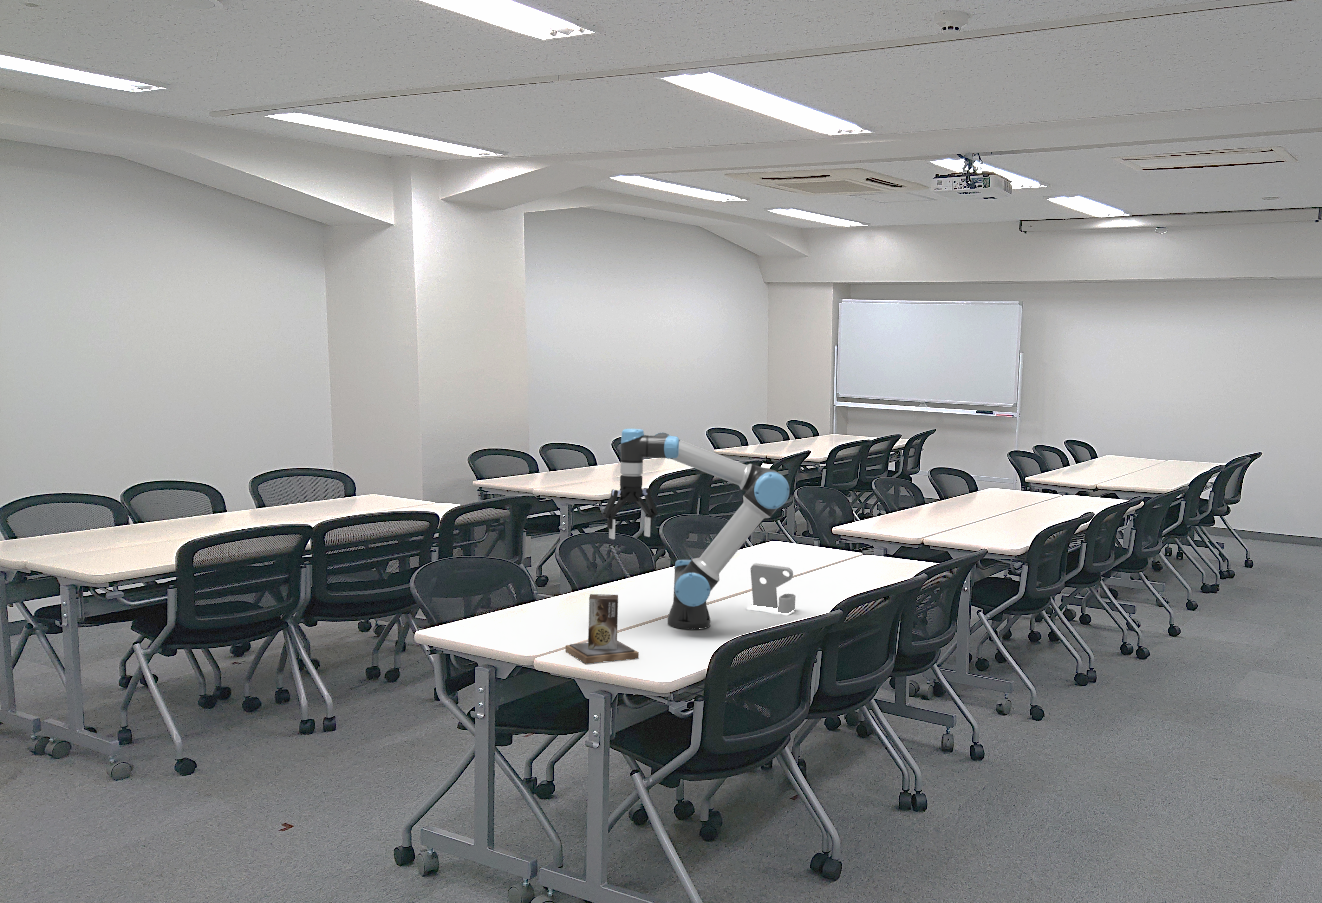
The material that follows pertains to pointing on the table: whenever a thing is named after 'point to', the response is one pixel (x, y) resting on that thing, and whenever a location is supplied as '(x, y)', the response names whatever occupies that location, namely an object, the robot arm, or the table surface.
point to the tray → (601, 653)
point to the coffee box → (603, 621)
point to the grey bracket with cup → (771, 587)
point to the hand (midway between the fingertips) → (629, 537)
